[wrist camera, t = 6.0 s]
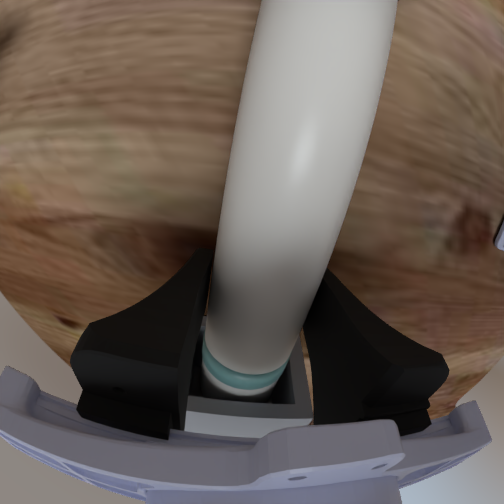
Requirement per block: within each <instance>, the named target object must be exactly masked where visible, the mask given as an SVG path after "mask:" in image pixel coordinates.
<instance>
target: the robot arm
mask: <svg viewBox="0 0 504 504" xmlns="http://www.w3.org/2000/svg"><path fill="white" fill-rule="evenodd" d="M495 246H496V247H497V248H498V249H500V250H503V251H504V221H503V224H502V226H501V228H500V231H499V233H498V235H497V237H496V240H495ZM213 251H214V250H211V249H205V248H198V249H197V250H196V251H195V253H194V254H193V255H192V257H191V258H190V259H189V260H188V261H187V262H186V264H185V265H184V266H183V267H182V268H181V269H180V270H179V271H178V272H177V273H176V274H175V275H174V276H173V277H172V278H171V279H169V280H168V281H167V282H166V283H165V284H164V285H163V286H161V287H160V288H159V289H158V290H156V291H155V292H153V293H152V294H151V295H149V296H148V297H146V298H145V299H143V300H142V301H140V302H138V303H137V304H135V305H133V306H131V307H129V308H127V309H125V310H123V311H121V312H119V313H116V314H114V315H111V316H109V317H106V318H103V319H100V320H98V321H95V322H92V323H89V325H88V327H87V328H86V329H85V331H84V332H83V334H82V335H81V337H80V339H79V341H78V343H77V345H76V347H75V349H74V351H73V353H72V355H71V359H70V363H71V367H72V369H73V371H74V374H75V376H76V377H77V379H78V381H79V383H80V385H81V387H82V389H83V391H82V394H81V397H80V399H79V402H78V405H77V404H74V403H71V402H69V401H66V400H64V399H61V398H58V397H56V396H53V395H51V394H48V393H46V392H44V391H41V390H40V388H39V386H38V384H37V383H36V382H35V381H34V379H32V378H31V377H30V376H28V375H26V374H24V373H22V372H20V371H18V370H16V369H14V368H11V367H10V366H6V367H5V368H4V371H3V372H2V374H1V376H0V436H1V437H2V438H3V439H5V440H6V441H7V442H8V443H10V444H11V445H12V446H13V447H15V448H16V449H18V450H20V451H22V452H23V453H25V454H27V455H29V456H31V457H32V458H34V459H36V460H38V461H40V462H42V463H44V464H46V465H48V466H50V467H52V468H54V469H56V470H59V471H61V472H63V473H65V474H67V475H70V476H72V477H74V478H77V479H79V480H81V481H84V482H87V483H89V484H92V485H95V486H97V487H100V488H102V489H106V490H108V491H112V492H115V493H118V494H121V495H124V496H127V497H131V498H135V499H138V500H142V501H146V502H145V504H402V501H401V496H400V491H399V489H400V488H403V487H406V486H409V485H411V484H414V483H417V482H419V481H421V480H424V479H427V478H429V477H431V476H434V475H436V474H438V473H441V472H443V471H445V470H447V469H450V468H452V467H454V466H456V465H458V464H459V463H461V462H462V461H464V460H466V459H467V458H469V457H470V456H472V455H473V454H475V453H476V452H478V451H479V450H481V449H482V448H484V447H485V446H487V445H488V444H489V443H491V442H492V438H491V436H490V434H489V431H488V428H487V426H486V423H485V421H484V419H483V416H482V414H481V411H480V409H479V407H478V405H477V402H476V401H471V402H467V403H464V404H462V405H459V406H458V407H456V408H455V409H454V410H453V411H451V412H450V413H449V415H447V416H444V417H440V418H436V419H433V420H430V417H429V415H428V412H427V409H428V408H429V407H430V403H429V401H428V398H429V397H431V396H432V395H433V394H434V393H435V392H436V391H437V390H438V389H439V388H440V387H441V385H442V384H443V383H444V382H445V381H446V379H447V377H448V375H449V368H448V366H447V364H446V362H445V360H444V358H443V356H442V354H440V353H438V352H436V351H434V350H431V349H429V348H427V347H425V346H422V345H420V344H419V343H417V342H415V341H413V340H411V339H409V338H408V337H406V336H404V335H403V334H401V333H400V332H398V331H397V330H395V329H394V328H392V327H391V326H389V325H388V324H386V323H385V322H384V321H382V320H381V319H380V318H379V317H377V316H376V315H375V314H374V313H372V312H371V311H370V310H369V309H368V308H367V307H366V306H365V305H364V304H362V303H361V302H360V301H359V300H358V299H357V298H356V297H355V296H354V295H353V294H352V293H351V292H350V291H349V290H348V289H347V288H346V287H345V286H344V285H343V284H342V283H341V281H340V280H339V279H338V278H337V277H336V276H335V275H334V274H333V273H332V272H331V271H330V270H329V269H328V268H326V270H325V273H324V275H323V278H322V281H321V283H320V286H319V288H318V291H317V293H316V296H315V298H314V300H313V303H312V305H311V308H310V310H309V312H308V315H307V317H306V320H305V322H304V324H303V331H304V335H305V340H306V344H307V349H308V353H309V358H310V364H311V372H312V384H313V405H314V425H305V426H296V427H286V428H283V429H279V430H276V431H272V432H270V433H268V434H267V435H265V436H264V437H262V438H246V437H231V436H220V435H210V434H202V433H194V432H187V431H184V430H185V420H186V410H187V402H188V393H189V385H190V378H191V370H192V363H193V356H194V351H195V347H196V343H197V339H198V335H199V331H200V328H201V324H202V320H203V316H204V313H205V309H206V303H207V296H208V290H209V282H210V274H211V266H212V259H213Z"/></svg>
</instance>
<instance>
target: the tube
mask: <svg viewBox="0 0 504 504" xmlns="http://www.w3.org/2000/svg"><path fill="white" fill-rule="evenodd" d="M397 2H398V0H262V1H261V6H260V10H259V14H258V18H257V23H256V27H255V31H254V36H253V40H252V45H251V50H250V54H249V59H248V64H247V68H246V73H245V78H244V83H243V88H242V93H241V98H240V104H239V109H238V114H237V119H236V125H235V130H234V136H233V142H232V147H231V153H230V159H229V165H228V171H227V177H226V183H225V189H224V195H223V202H222V208H221V215H220V221H219V228H218V235H217V242H216V249H215V257H214V264H213V271H212V279H211V287H210V295H209V303H208V312H207V320H206V327H205V331H204V337H203V347H202V367H201V377H200V388H201V391H202V394H203V396H204V397H205V398H210V399H218V400H227V401H238V402H251V403H267V401H268V399H269V397H270V395H271V393H272V391H273V389H274V387H275V385H276V383H277V381H278V379H279V377H280V376H281V375H282V373H283V371H284V369H285V367H286V365H287V363H288V360H289V358H290V356H291V353H292V349H293V347H294V345H295V342H296V340H297V338H298V336H299V333H300V331H301V329H302V327H303V324H304V322H305V320H306V317H307V315H308V312H309V310H310V308H311V305H312V303H313V300H314V298H315V296H316V293H317V291H318V288H319V286H320V283H321V281H322V278H323V275H324V273H325V270H326V268H327V265H328V262H329V260H330V257H331V254H332V252H333V249H334V246H335V243H336V241H337V238H338V235H339V232H340V229H341V227H342V224H343V221H344V218H345V215H346V212H347V209H348V206H349V203H350V200H351V197H352V194H353V191H354V188H355V184H356V181H357V178H358V175H359V171H360V168H361V165H362V161H363V158H364V155H365V151H366V148H367V144H368V140H369V137H370V133H371V129H372V126H373V122H374V118H375V114H376V110H377V106H378V102H379V98H380V94H381V89H382V85H383V80H384V76H385V71H386V66H387V61H388V56H389V51H390V46H391V40H392V35H393V29H394V23H395V16H396V9H397Z"/></svg>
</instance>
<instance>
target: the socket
mask: <svg viewBox="0 0 504 504" xmlns="http://www.w3.org/2000/svg"><path fill="white" fill-rule="evenodd" d="M206 320H207V316H203V320H202V324H201V328H200V331H199V335H198V339H197V343H196V347H195V351H194V356H193V363H192V370H191V378H190V385H189V393H188V402H187V410H186V420H185V430H184V431H187V432H194V433H202V434H210V435H220V436H231V437H246V438H262V437H264V436H265V435H267V434H268V433H270V432H272V431H276V430H279V429H283V428H286V427H296V426H305V425H308V424H309V423H310V422H311V421H312V420H313V412H312V406H311V399H310V393H309V387H308V381H307V375H306V370H305V364H304V358H303V352H302V347H301V341H300V336H298V338H297V340H296V342H295V345H294V347H293V349H292V353H291V356H290V358H289V360H288V363H287V365H286V367H285V369H284V371H283V373H282V375H281V376H280V377H279V379H278V381H277V383H276V385H275V387H274V389H273V391H272V393H271V395H270V397H269V399H268V401H267V403H251V402H238V401H227V400H218V399H210V398H205V397H204V396H203V394H202V391H201V388H200V377H201V367H202V347H203V337H204V331H205V327H206Z"/></svg>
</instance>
